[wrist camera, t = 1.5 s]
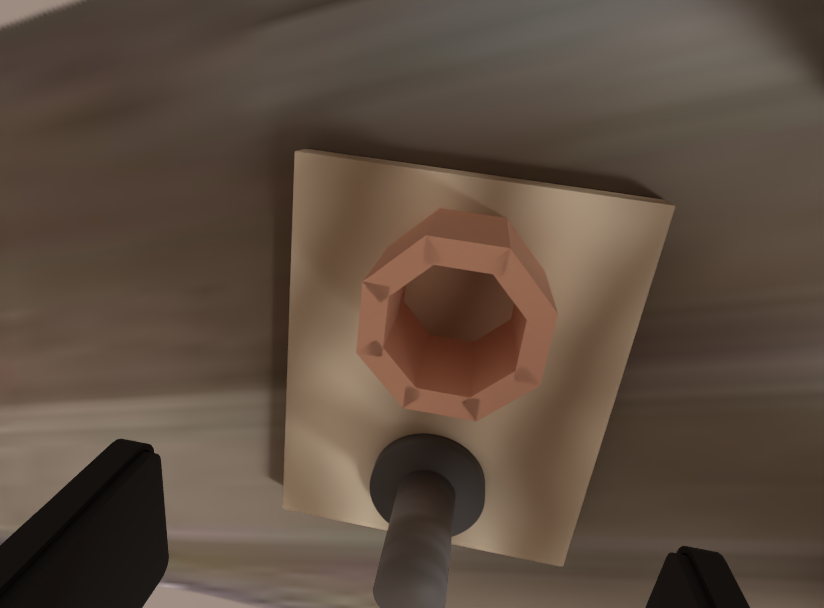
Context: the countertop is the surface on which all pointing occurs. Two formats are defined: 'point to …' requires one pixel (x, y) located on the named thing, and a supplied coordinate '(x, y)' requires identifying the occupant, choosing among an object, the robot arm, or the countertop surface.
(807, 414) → the countertop surface
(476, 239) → the collar
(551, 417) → the post board
